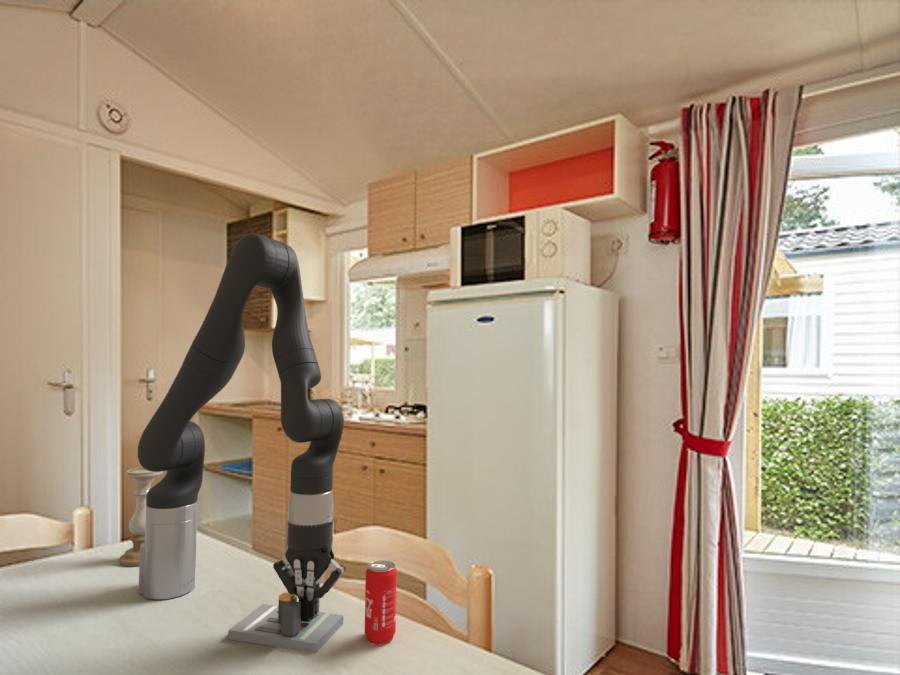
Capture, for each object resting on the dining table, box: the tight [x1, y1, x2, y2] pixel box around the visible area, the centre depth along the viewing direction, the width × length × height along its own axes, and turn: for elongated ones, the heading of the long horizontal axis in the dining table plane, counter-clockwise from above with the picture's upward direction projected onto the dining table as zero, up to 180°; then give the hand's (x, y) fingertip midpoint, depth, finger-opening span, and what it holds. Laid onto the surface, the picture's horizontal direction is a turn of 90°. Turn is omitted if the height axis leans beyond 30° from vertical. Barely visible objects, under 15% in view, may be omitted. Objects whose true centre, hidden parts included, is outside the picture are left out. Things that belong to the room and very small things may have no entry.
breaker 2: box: [281, 601, 301, 636], centre depth 90 cm, size 2×2×4 cm
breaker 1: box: [277, 590, 298, 623], centre depth 94 cm, size 2×2×4 cm
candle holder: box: [118, 466, 164, 567], centre depth 126 cm, size 9×9×20 cm
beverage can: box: [364, 560, 398, 646], centre depth 92 cm, size 5×5×12 cm
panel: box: [227, 603, 344, 654], centre depth 94 cm, size 16×10×2 cm, turn 76°
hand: (307, 619), depth 93 cm, fingers closed
